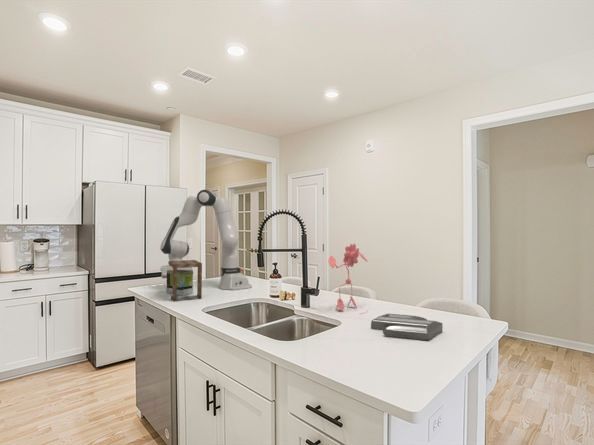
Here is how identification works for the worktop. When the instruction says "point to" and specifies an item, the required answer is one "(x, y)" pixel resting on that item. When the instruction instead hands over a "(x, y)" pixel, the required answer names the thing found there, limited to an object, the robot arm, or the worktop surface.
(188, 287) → the tea box
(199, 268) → the walnut shelf
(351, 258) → the pink flower figurine
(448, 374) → the worktop surface
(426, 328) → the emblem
